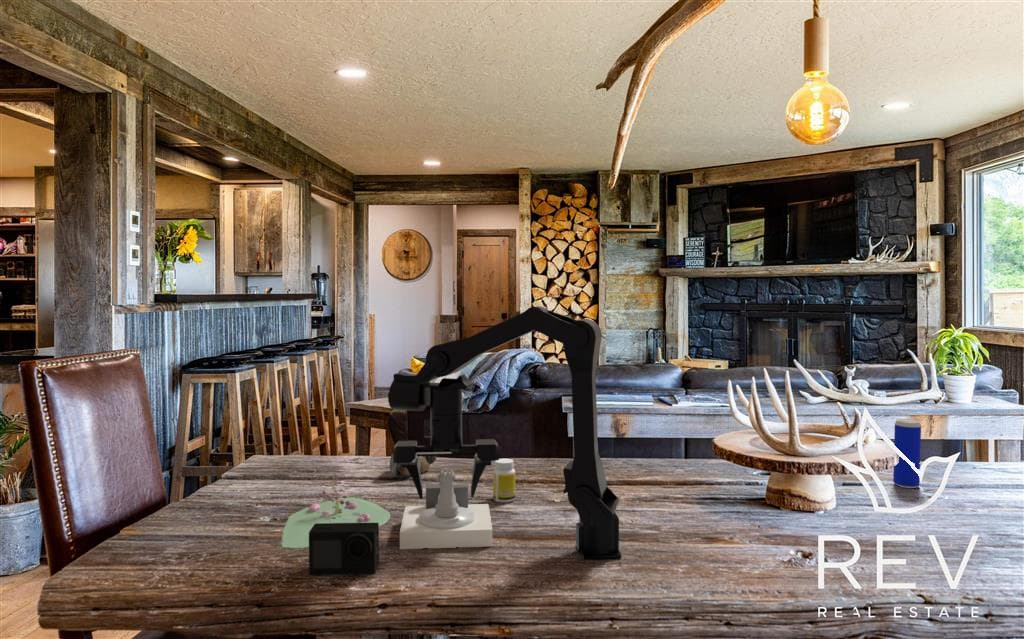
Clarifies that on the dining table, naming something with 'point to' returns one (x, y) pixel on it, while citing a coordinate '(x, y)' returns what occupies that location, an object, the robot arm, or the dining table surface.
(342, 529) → the digital camera
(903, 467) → the beverage can
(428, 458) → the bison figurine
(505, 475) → the supplement bottle
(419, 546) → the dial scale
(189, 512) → the dining table surface
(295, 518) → the plant
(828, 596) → the dining table surface
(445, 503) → the rook chess piece
